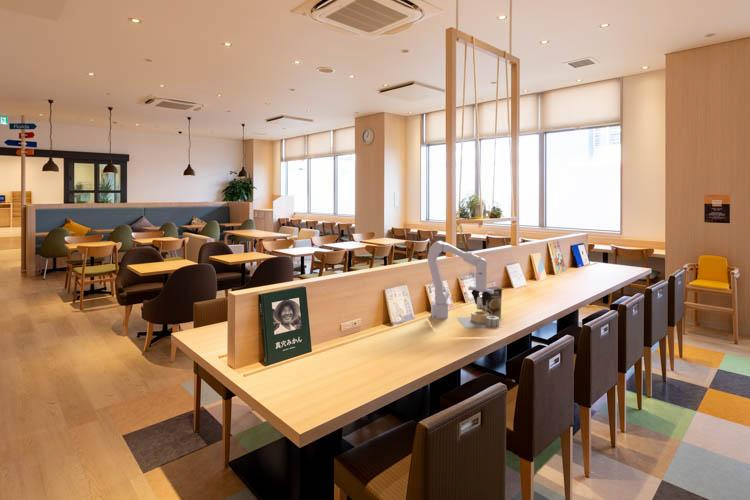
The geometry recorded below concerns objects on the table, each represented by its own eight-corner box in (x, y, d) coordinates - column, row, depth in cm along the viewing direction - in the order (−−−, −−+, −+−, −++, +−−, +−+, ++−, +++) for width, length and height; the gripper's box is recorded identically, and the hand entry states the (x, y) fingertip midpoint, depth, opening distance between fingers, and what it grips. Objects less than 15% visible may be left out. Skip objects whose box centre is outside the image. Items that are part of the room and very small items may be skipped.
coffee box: (487, 317, 258) (487, 290, 256) (481, 314, 265) (482, 287, 262) (501, 316, 261) (502, 289, 259) (495, 313, 267) (496, 286, 265)
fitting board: (464, 330, 236) (464, 320, 235) (456, 319, 256) (456, 310, 255) (502, 329, 237) (502, 319, 236) (491, 318, 257) (491, 309, 256)
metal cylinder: (477, 309, 247) (477, 297, 246) (475, 307, 251) (475, 295, 250) (484, 309, 247) (484, 297, 246) (482, 307, 251) (482, 295, 250)
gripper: (465, 279, 249) (465, 303, 251) (489, 283, 240) (488, 308, 241) (472, 277, 254) (471, 301, 256) (495, 281, 245) (495, 305, 246)
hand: (480, 304), depth 249 cm, fingers closed on metal cylinder, 4 cm apart
